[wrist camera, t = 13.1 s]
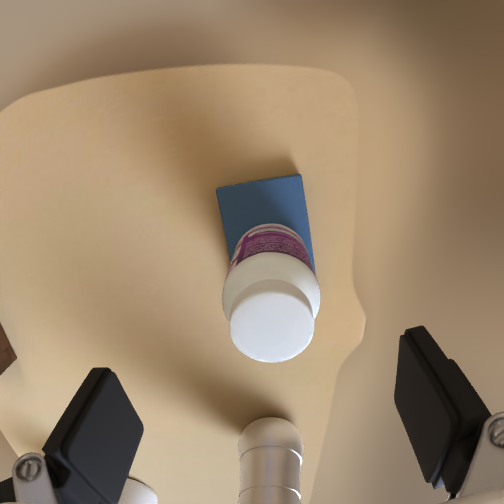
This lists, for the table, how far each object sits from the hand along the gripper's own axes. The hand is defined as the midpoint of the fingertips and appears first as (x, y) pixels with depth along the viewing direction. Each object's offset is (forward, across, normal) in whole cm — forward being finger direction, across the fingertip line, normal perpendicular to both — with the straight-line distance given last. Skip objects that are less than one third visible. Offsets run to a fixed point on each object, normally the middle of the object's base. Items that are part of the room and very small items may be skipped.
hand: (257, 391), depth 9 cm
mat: (+16, -1, 0) cm, 16 cm away
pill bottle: (+15, 0, +1) cm, 15 cm away
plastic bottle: (+16, +2, +20) cm, 26 cm away
